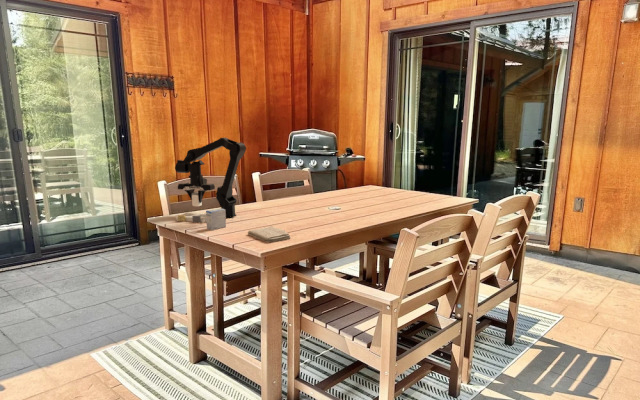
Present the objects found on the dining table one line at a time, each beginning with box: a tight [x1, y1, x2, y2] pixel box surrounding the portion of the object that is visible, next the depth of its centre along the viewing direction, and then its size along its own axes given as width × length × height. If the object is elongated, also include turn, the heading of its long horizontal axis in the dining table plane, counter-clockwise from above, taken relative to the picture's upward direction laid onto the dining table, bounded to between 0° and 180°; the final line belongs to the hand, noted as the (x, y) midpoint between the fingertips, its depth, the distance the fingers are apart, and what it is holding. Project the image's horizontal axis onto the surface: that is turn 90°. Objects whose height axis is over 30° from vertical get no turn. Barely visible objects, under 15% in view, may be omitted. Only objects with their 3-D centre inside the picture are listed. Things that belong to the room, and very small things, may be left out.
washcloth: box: [247, 225, 291, 244], centre depth 179 cm, size 12×18×3 cm, turn 39°
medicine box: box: [205, 207, 227, 231], centre depth 193 cm, size 8×4×9 cm, turn 141°
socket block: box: [175, 212, 206, 223], centre depth 211 cm, size 15×12×3 cm
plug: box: [191, 191, 203, 207], centre depth 221 cm, size 4×4×7 cm
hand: (197, 202), depth 222 cm, fingers closed on plug, 4 cm apart
